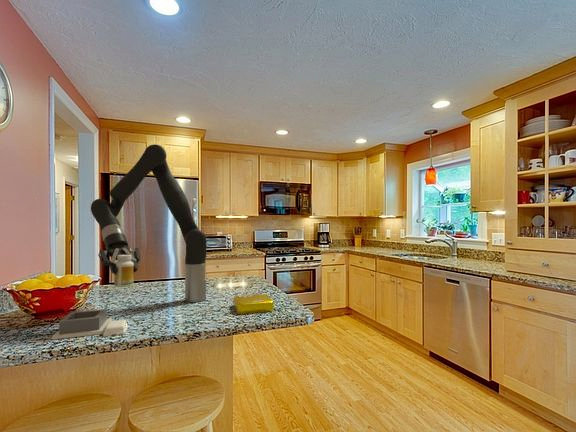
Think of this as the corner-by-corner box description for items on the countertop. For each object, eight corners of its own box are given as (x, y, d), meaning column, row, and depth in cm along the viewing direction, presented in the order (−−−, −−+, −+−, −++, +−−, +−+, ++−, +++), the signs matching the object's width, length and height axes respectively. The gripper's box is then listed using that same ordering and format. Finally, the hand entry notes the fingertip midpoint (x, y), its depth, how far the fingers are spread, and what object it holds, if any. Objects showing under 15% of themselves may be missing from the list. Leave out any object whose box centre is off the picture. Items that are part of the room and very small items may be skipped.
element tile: (238, 315, 119) (238, 303, 119) (233, 305, 133) (233, 294, 133) (274, 311, 123) (274, 300, 124) (266, 302, 138) (266, 292, 138)
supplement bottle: (136, 284, 115) (137, 254, 115) (128, 287, 109) (128, 256, 109) (120, 283, 115) (120, 254, 115) (110, 287, 108) (111, 256, 109)
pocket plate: (111, 320, 112) (112, 307, 113) (103, 333, 99) (103, 318, 99) (67, 325, 108) (67, 311, 108) (51, 339, 94) (52, 323, 95)
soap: (125, 334, 99) (125, 325, 99) (101, 337, 97) (101, 328, 97) (128, 326, 107) (128, 318, 108) (106, 328, 105) (106, 320, 105)
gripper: (96, 232, 111) (107, 267, 103) (136, 231, 122) (149, 263, 114) (91, 245, 115) (101, 280, 107) (130, 244, 126) (142, 275, 118)
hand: (126, 271), depth 111 cm, fingers closed on supplement bottle, 6 cm apart
